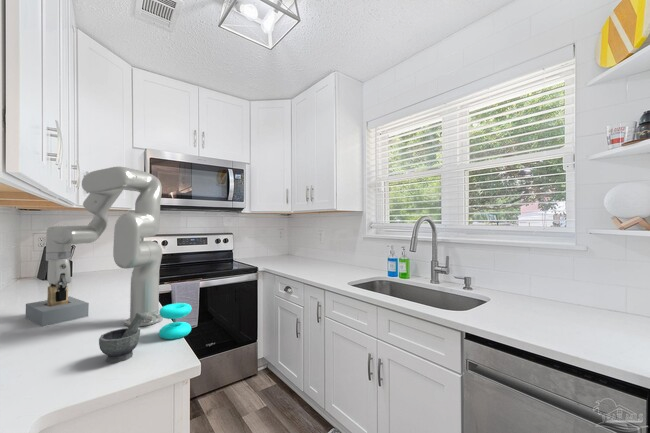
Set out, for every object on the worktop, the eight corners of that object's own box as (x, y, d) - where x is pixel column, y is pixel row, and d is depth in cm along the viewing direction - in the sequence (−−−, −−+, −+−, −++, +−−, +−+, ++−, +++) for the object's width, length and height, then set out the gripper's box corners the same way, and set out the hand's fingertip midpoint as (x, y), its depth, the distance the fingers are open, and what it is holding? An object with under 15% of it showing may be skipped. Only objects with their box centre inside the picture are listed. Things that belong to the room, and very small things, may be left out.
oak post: (67, 314, 119) (68, 285, 120) (51, 318, 115) (52, 288, 115) (62, 312, 122) (63, 284, 122) (47, 316, 118) (47, 286, 118)
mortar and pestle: (101, 369, 77) (102, 324, 77) (95, 358, 83) (96, 316, 83) (149, 356, 85) (150, 314, 85) (141, 346, 91) (141, 308, 91)
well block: (88, 316, 119) (88, 302, 120) (42, 326, 107) (42, 311, 108) (69, 308, 130) (69, 296, 130) (25, 317, 118) (25, 303, 118)
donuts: (152, 307, 98) (179, 300, 107) (152, 337, 98) (178, 327, 107) (172, 312, 94) (197, 304, 103) (171, 342, 94) (197, 332, 103)
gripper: (78, 256, 118) (77, 300, 117) (62, 254, 127) (61, 294, 126) (54, 258, 111) (53, 305, 111) (38, 255, 120) (37, 298, 120)
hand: (57, 299), depth 119 cm, fingers open, 6 cm apart
